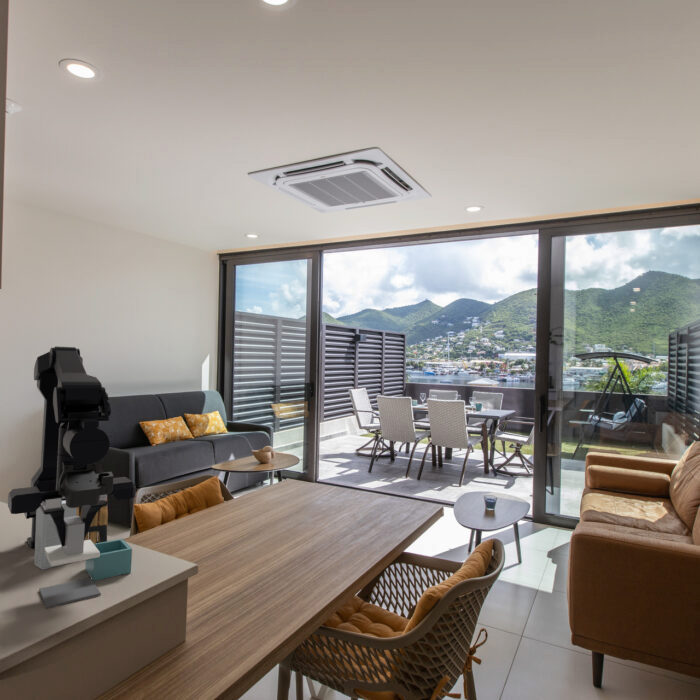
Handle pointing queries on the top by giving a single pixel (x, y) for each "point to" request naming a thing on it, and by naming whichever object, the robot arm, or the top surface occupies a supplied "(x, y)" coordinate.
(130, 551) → the teal open box
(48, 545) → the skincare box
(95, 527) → the ammunition clip
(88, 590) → the mat
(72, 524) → the lid
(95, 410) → the robot arm
